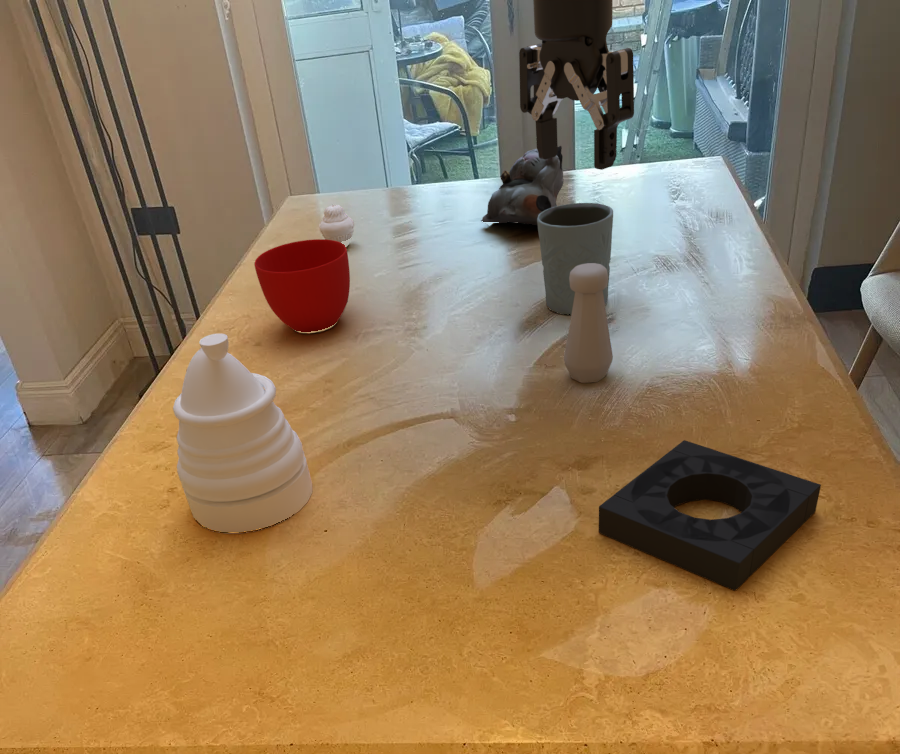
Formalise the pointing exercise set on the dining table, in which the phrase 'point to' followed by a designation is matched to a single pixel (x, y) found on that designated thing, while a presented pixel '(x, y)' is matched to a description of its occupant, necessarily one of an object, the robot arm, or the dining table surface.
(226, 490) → the honey pot
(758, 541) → the base pad
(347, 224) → the muffin
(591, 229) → the drinking glass
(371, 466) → the dining table surface
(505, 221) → the lucky cat figurine
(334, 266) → the ceramic cup
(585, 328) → the cream tapered peg
